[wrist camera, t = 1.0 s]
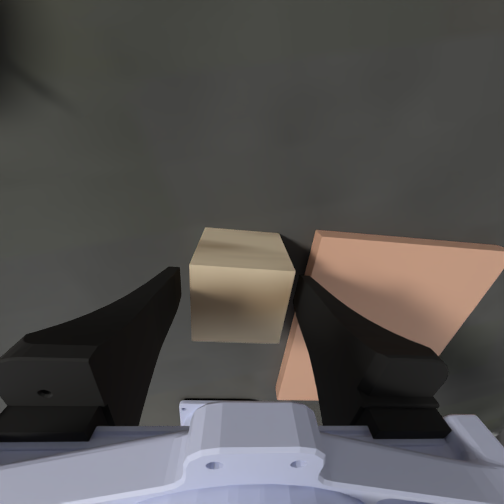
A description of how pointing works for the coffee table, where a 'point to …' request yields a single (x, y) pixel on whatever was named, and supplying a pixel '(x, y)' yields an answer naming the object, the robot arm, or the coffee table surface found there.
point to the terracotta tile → (392, 291)
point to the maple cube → (239, 286)
